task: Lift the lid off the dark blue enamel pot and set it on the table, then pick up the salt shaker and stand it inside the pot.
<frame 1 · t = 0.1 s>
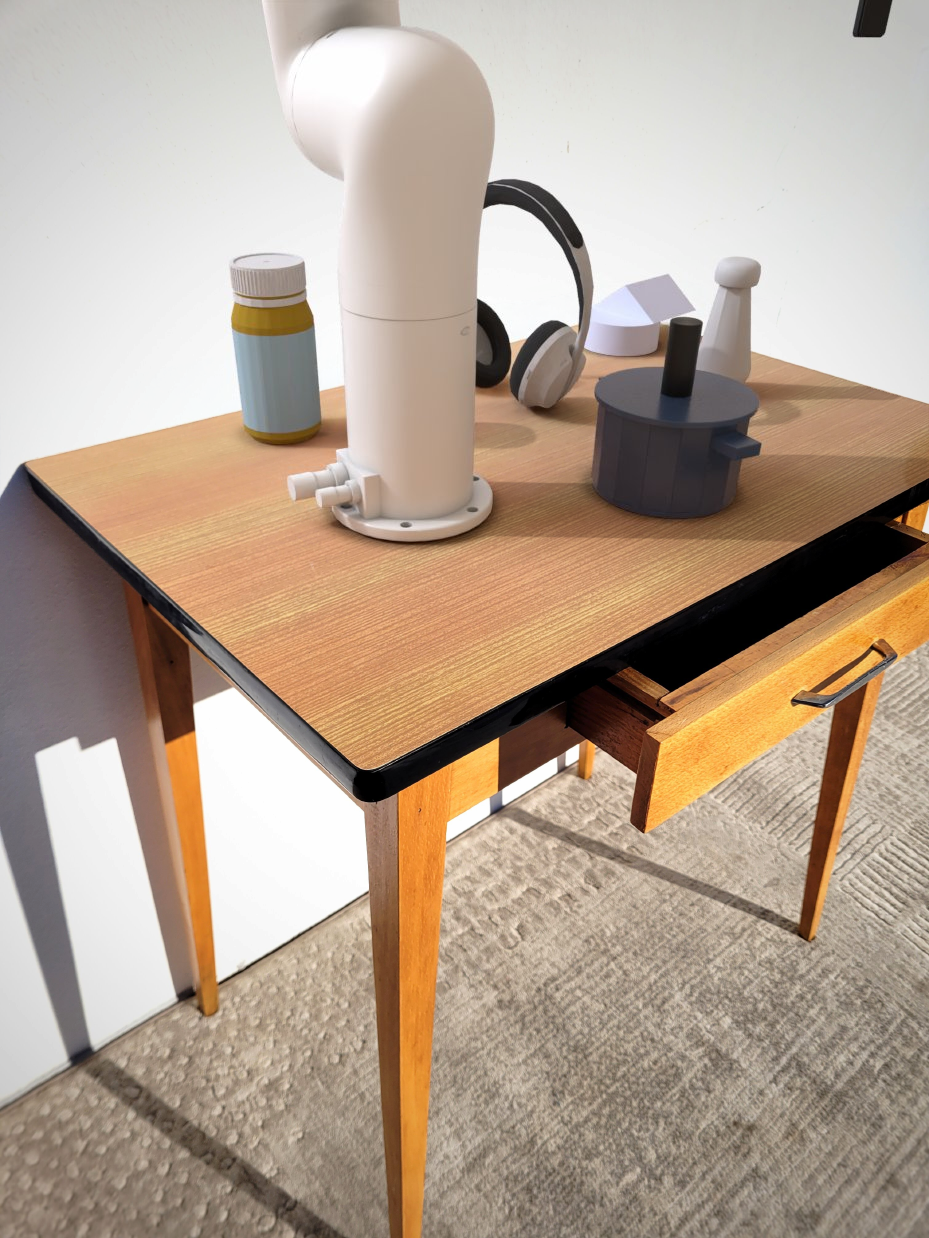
hand: (916, 39, 73), 31 cm above the table, tool pointing down, fingers open, 9 cm apart
headphones: (504, 398, 93), on the table
pot: (662, 486, 76), on the table
salt shaker: (717, 392, 96), on the table
lid: (675, 398, 72), point 7 cm above the table, touching pot
bottle: (283, 433, 85), on the table
wedge on round base: (628, 342, 110), on the table
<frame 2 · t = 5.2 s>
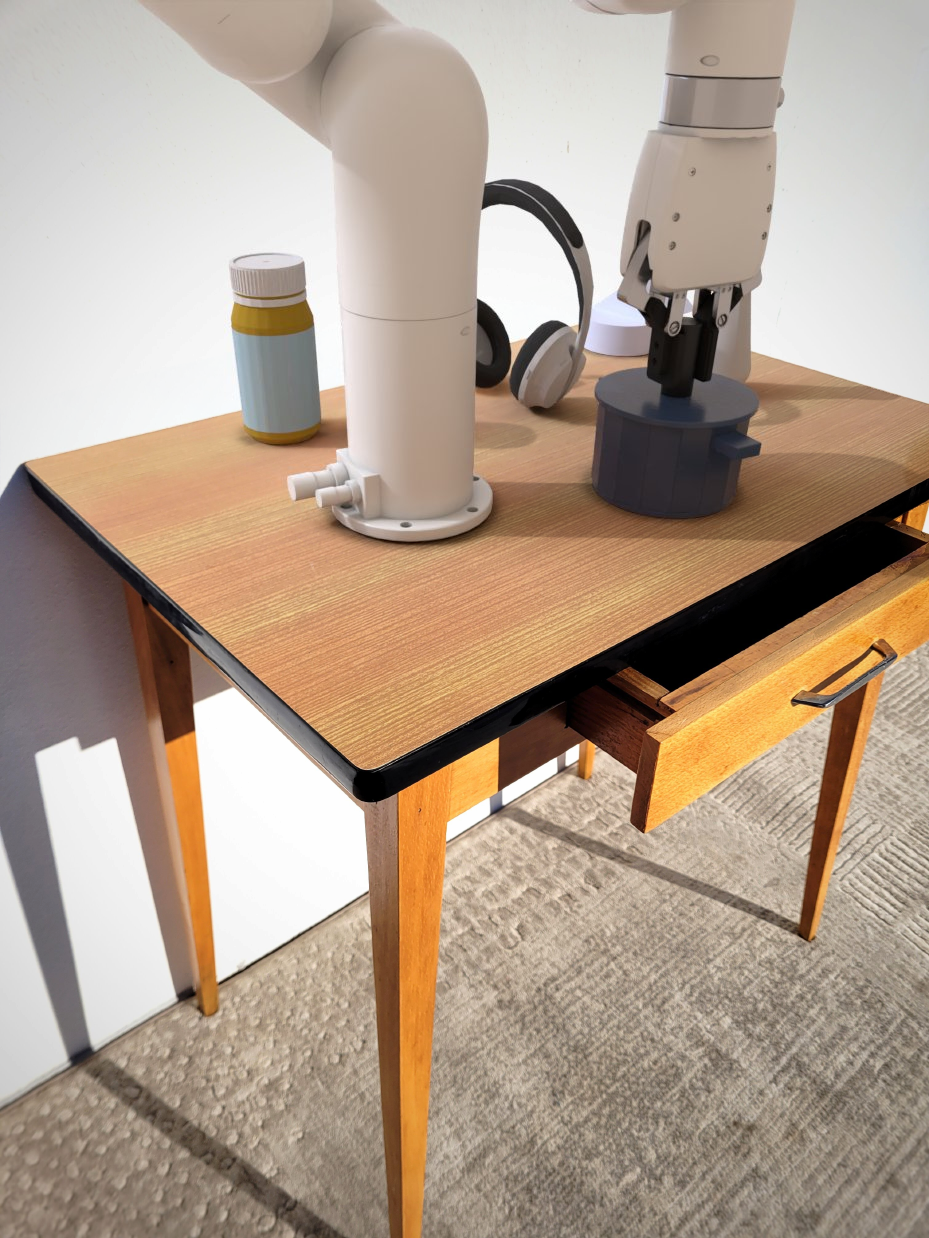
hand: (678, 377, 71), 9 cm above the table, tool pointing down, fingers closed on lid, 2 cm apart
lid: (675, 398, 72), point 8 cm above the table, touching gripper, pot
everything else where it was.
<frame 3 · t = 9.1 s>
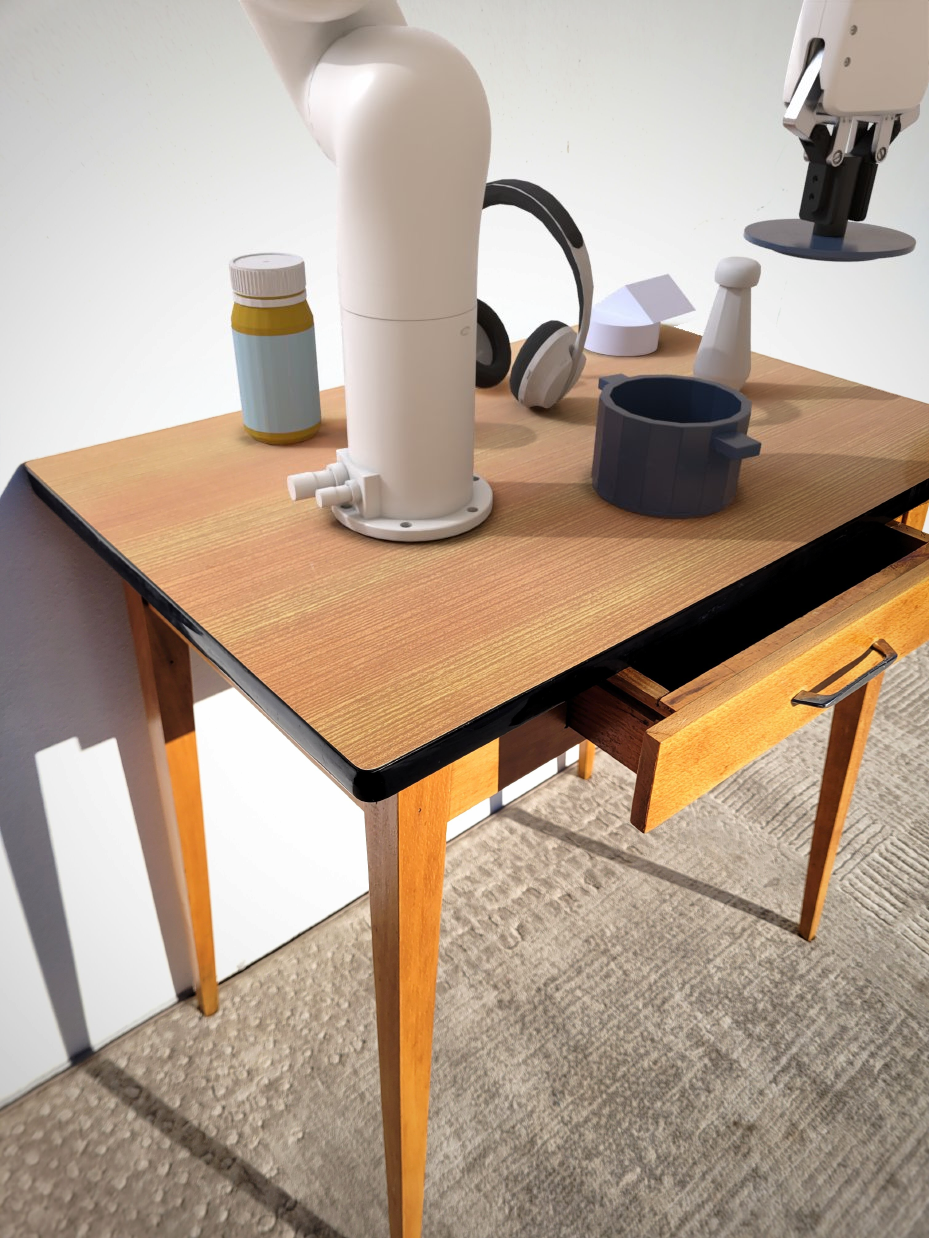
hand: (831, 218, 70), 20 cm above the table, tool pointing down, fingers closed on lid, 2 cm apart
lid: (826, 241, 71), point 18 cm above the table, touching gripper
everything else where it was.
when the fingers open (2 cm above the table, at t = 13.0 s): lid stays where it is, point 1 cm above the table.
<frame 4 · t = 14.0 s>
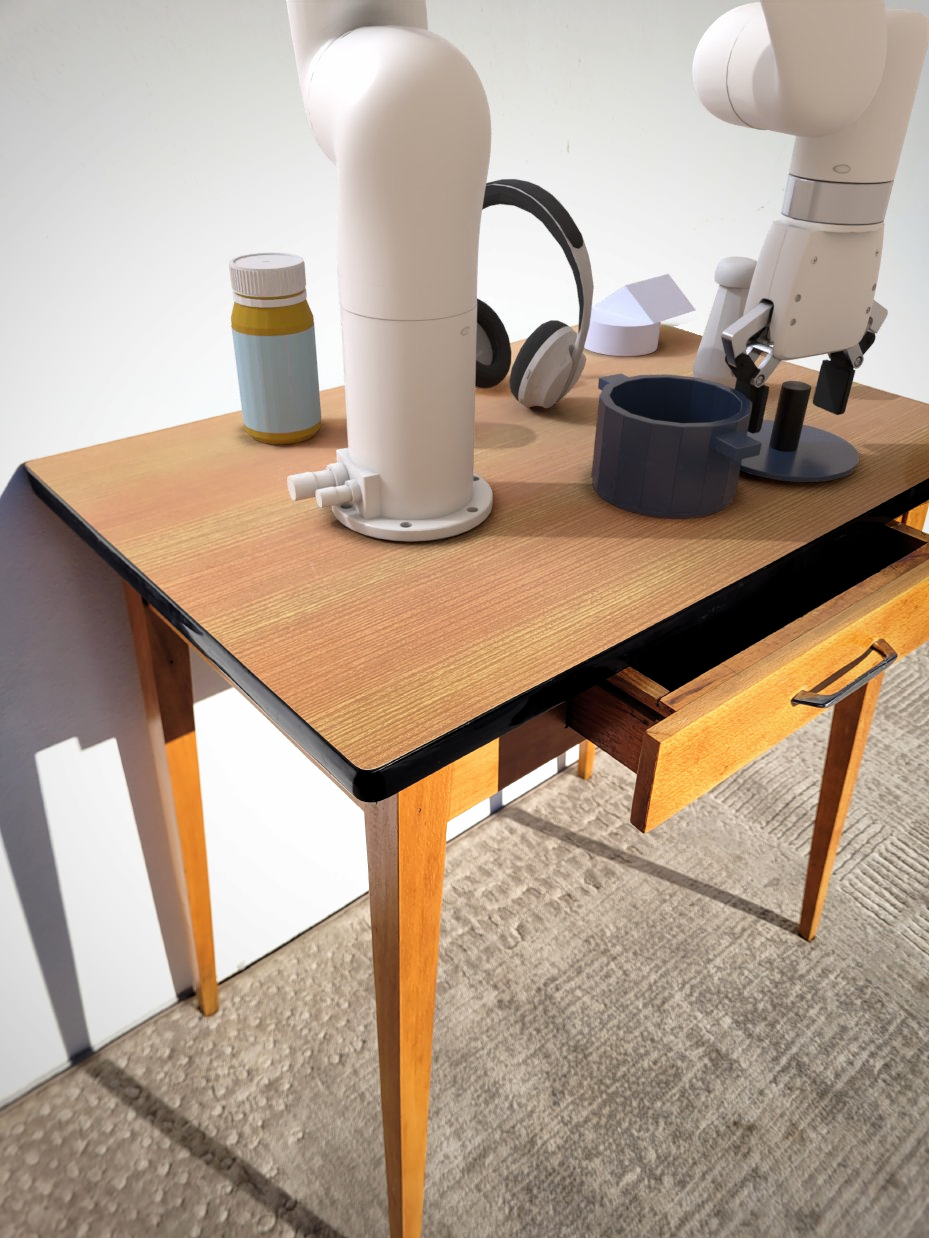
hand: (786, 418, 79), 4 cm above the table, tool pointing down, fingers open, 9 cm apart
lid: (782, 451, 81), point 1 cm above the table
everything else where it was.
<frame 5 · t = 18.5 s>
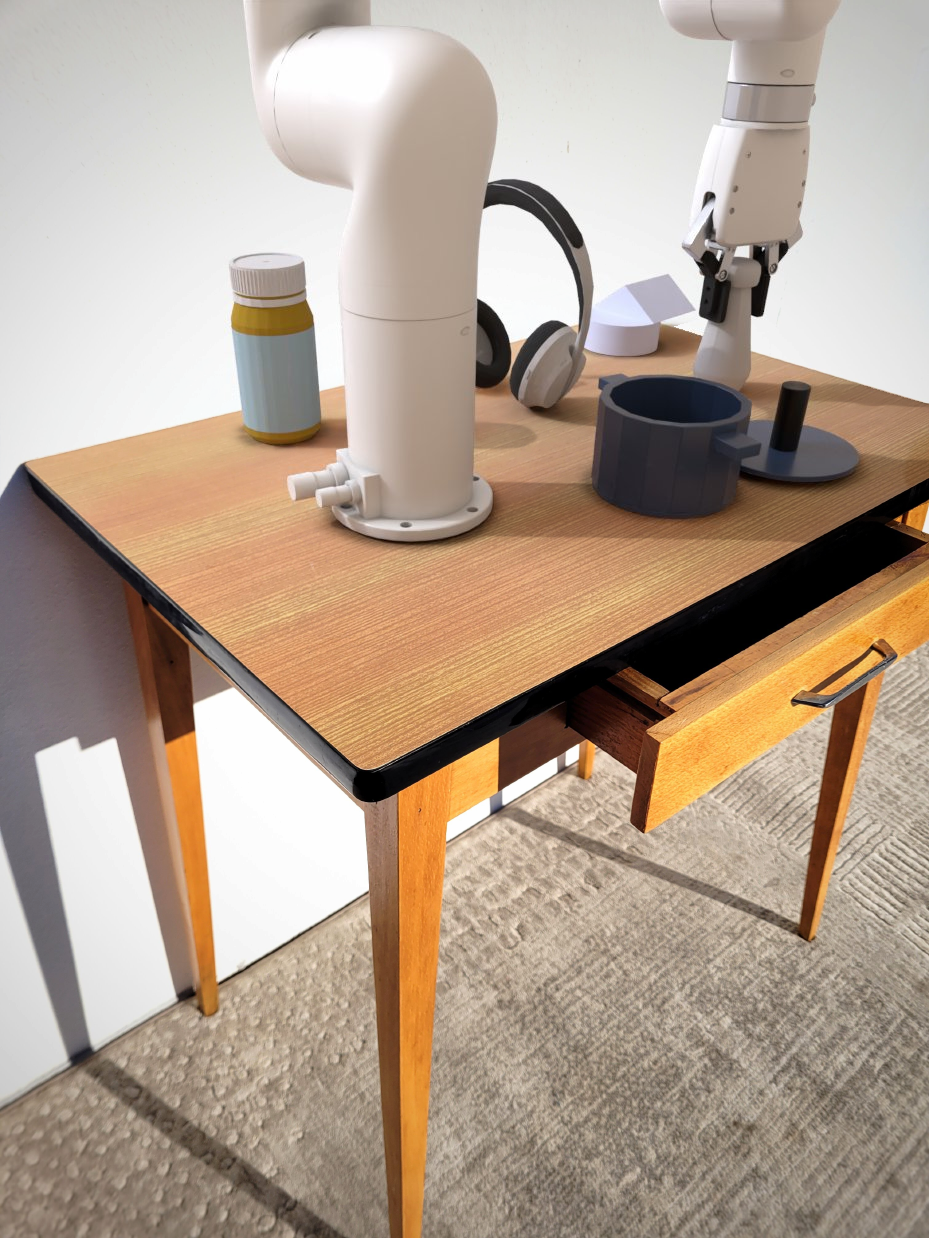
hand: (730, 314, 91), 8 cm above the table, tool pointing down, fingers closed on salt shaker, 4 cm apart
salt shaker: (717, 392, 96), on the table, touching gripper
everything else where it was.
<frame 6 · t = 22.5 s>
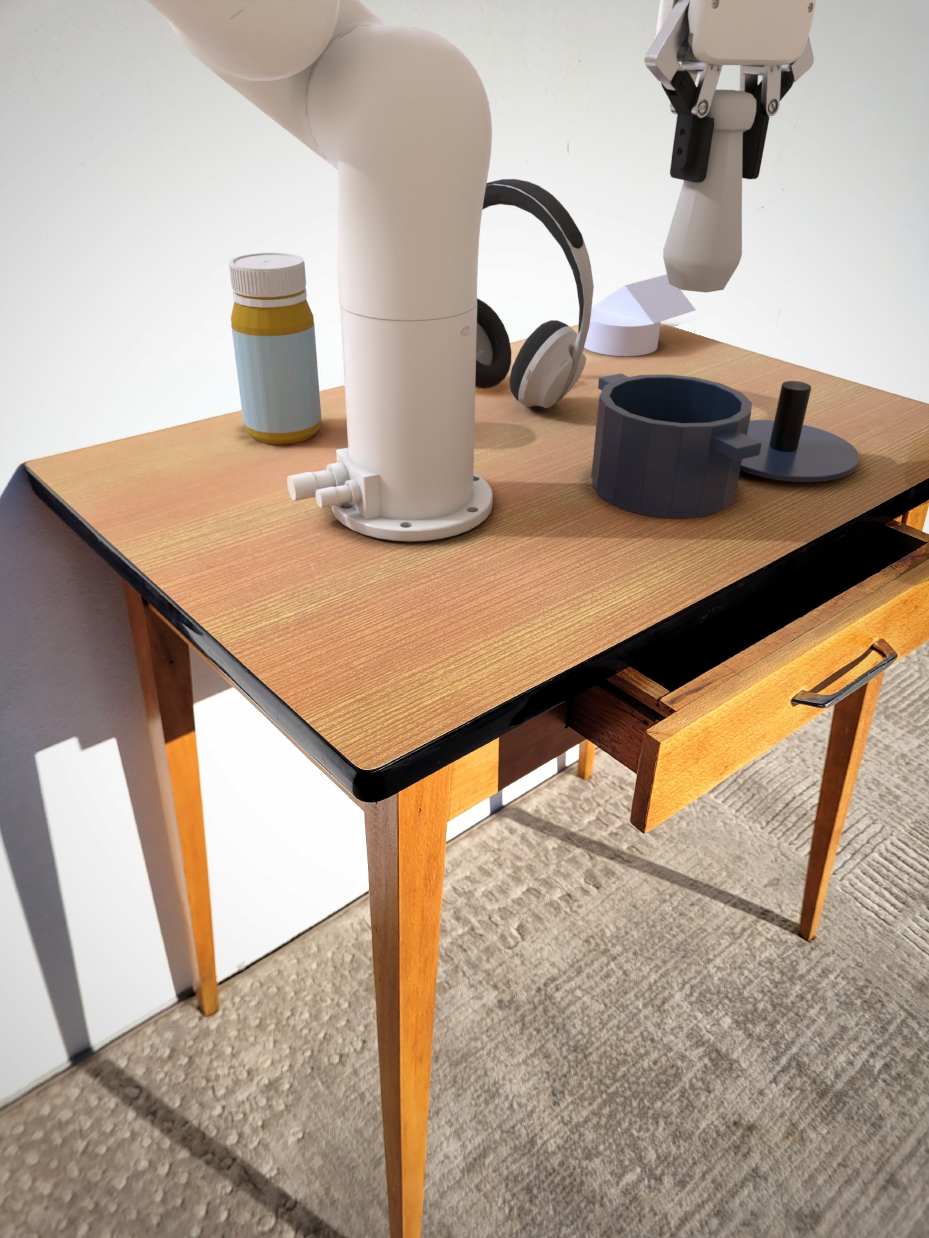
hand: (714, 175, 66), 23 cm above the table, tool pointing down, fingers closed on salt shaker, 4 cm apart
salt shaker: (696, 288, 71), point 15 cm above the table, touching gripper
everything else where it was.
when the fingers open (8 cm above the table, at t = 26.6 s): salt shaker stays where it is, resting on pot.
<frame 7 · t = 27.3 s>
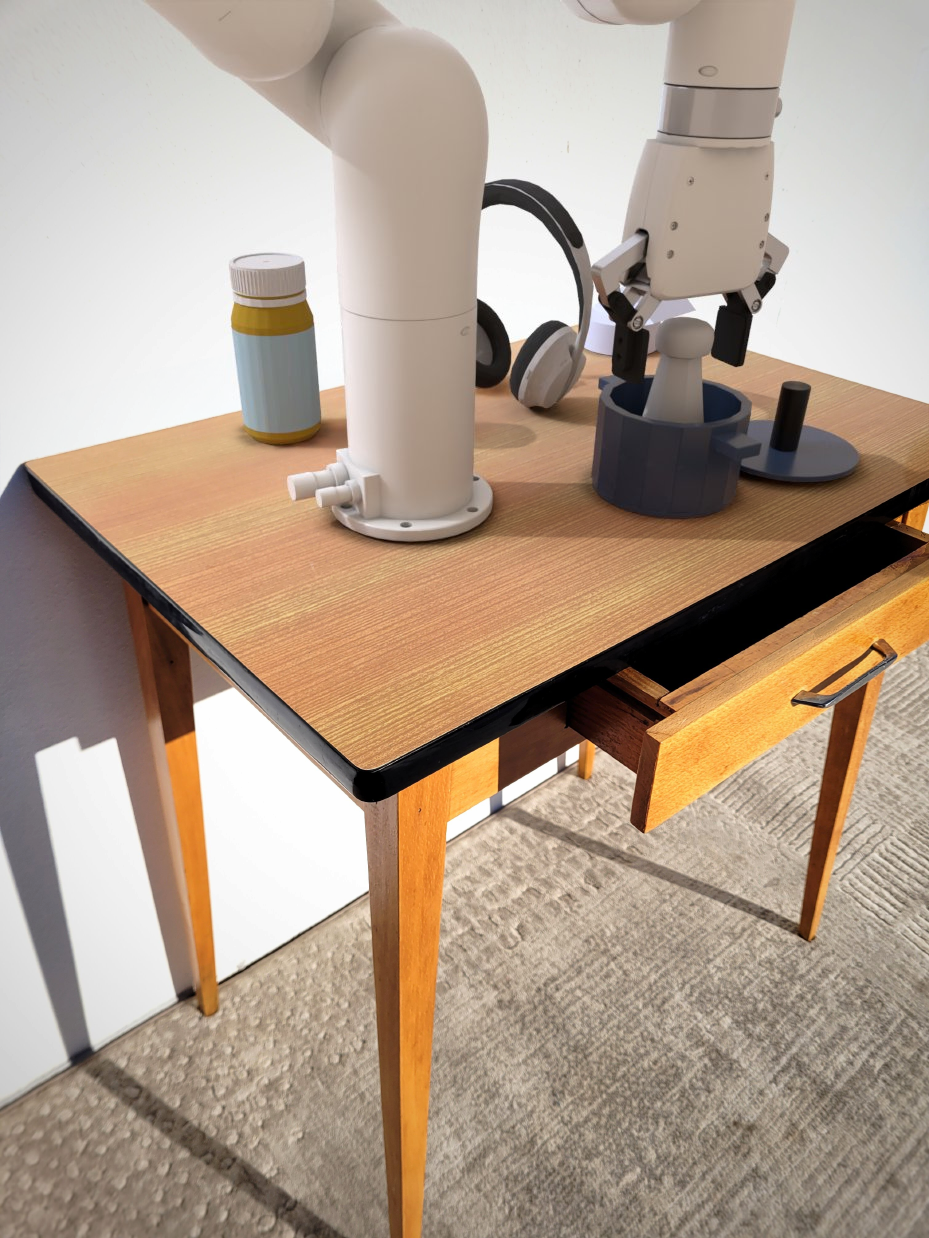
hand: (678, 370, 71), 10 cm above the table, tool pointing down, fingers open, 9 cm apart
salt shaker: (663, 483, 76), resting on pot
everything else where it was.
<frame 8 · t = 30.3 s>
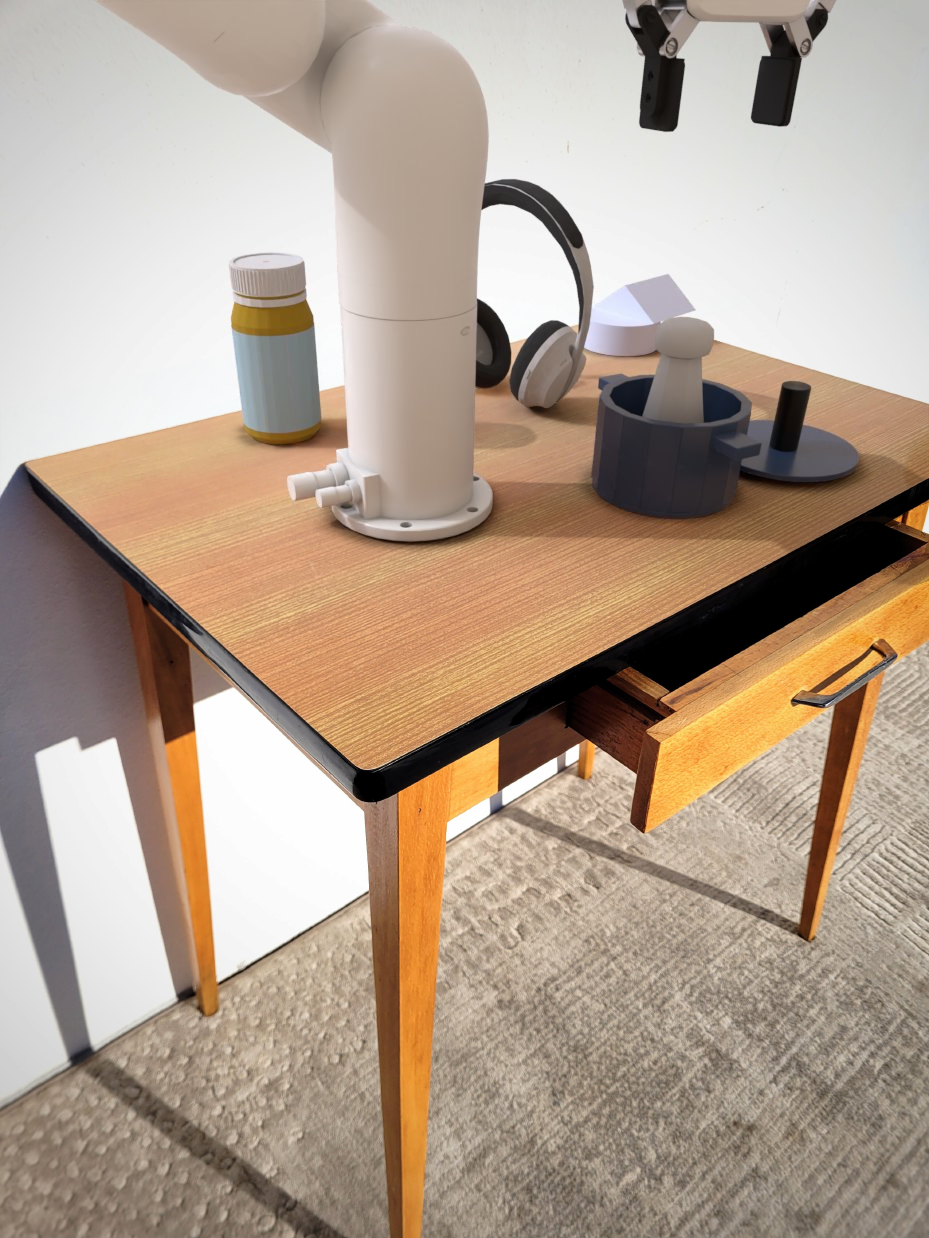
hand: (715, 127, 61), 26 cm above the table, tool pointing down, fingers open, 9 cm apart
nothing on the table moved.
at the end: salt shaker 0.1 cm off-centre in the pot, point 0.3 cm above the pot's base; salt shaker tilted 0°; lid inside the target area (0.1 cm from its centre), point 0.6 cm above the table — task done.
